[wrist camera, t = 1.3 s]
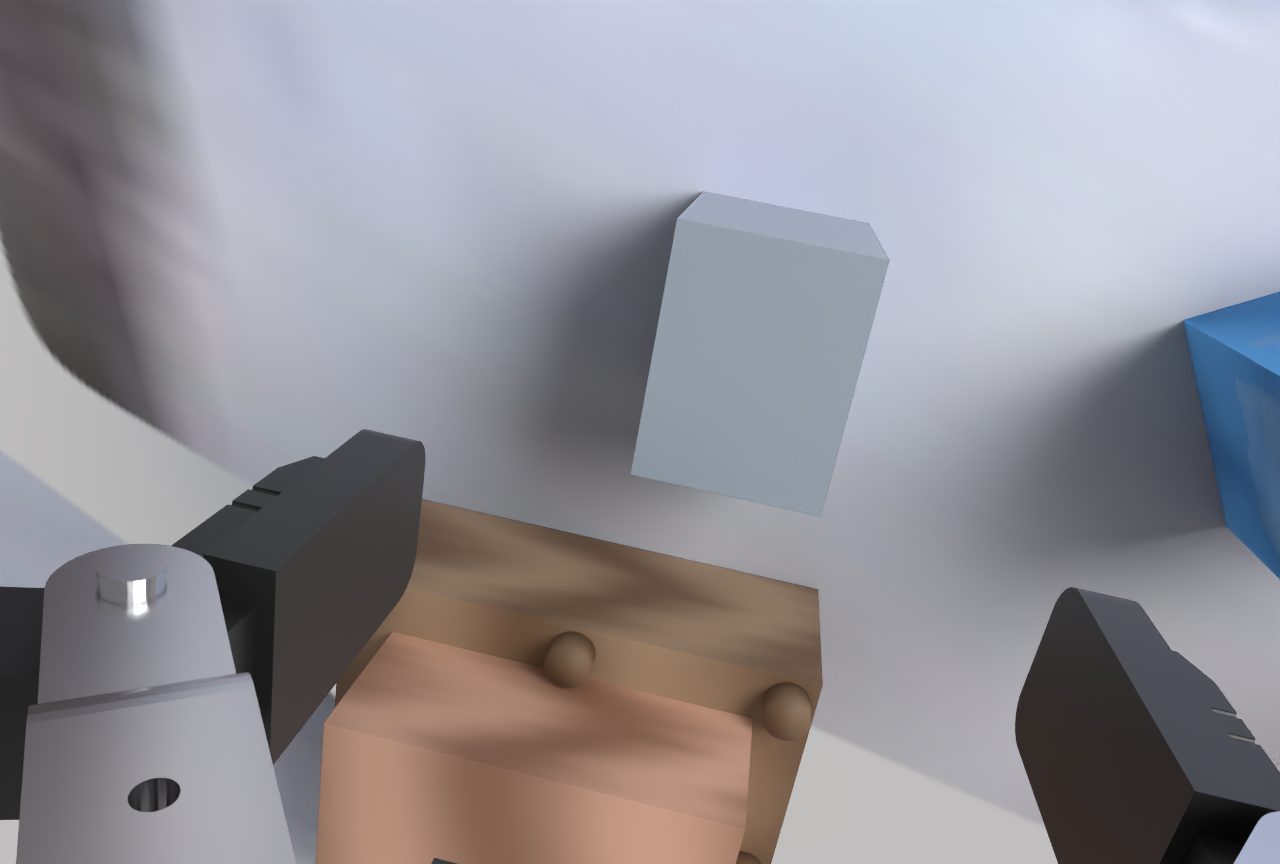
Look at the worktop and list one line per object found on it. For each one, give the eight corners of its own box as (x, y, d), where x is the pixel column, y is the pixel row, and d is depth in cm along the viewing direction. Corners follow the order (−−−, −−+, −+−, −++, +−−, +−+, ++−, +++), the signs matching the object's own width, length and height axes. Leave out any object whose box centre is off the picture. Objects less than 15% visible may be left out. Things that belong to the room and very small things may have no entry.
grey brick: (868, 223, 25) (889, 260, 19) (815, 429, 27) (820, 516, 21) (703, 190, 25) (676, 218, 20) (664, 397, 27) (630, 474, 22)
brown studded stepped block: (818, 589, 29) (827, 793, 20) (732, 902, 33) (711, 1173, 25) (414, 497, 30) (264, 654, 21) (385, 812, 34) (253, 1043, 26)
